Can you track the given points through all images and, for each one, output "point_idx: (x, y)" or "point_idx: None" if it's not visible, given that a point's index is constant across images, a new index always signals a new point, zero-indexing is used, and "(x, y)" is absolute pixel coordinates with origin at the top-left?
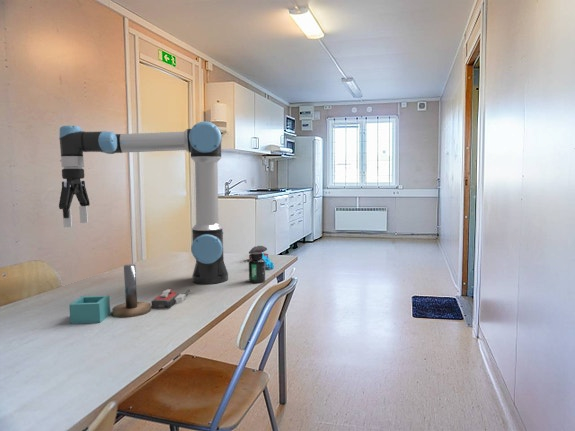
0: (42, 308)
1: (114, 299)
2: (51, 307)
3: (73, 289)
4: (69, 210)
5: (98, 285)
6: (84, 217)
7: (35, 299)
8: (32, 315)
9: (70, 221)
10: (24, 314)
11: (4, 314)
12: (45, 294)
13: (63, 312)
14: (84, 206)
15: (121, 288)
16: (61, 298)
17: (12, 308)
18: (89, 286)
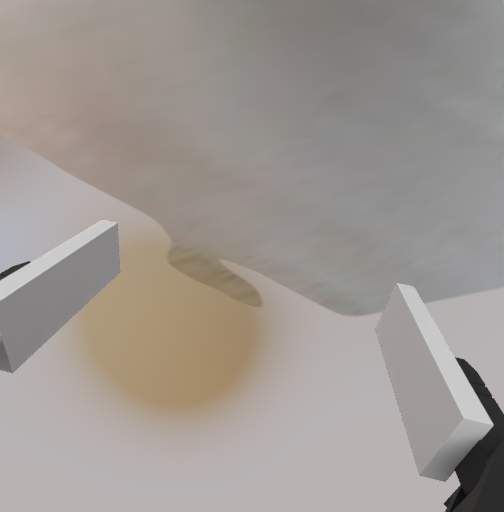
0: (407, 235)
1: (400, 20)
2: (408, 215)
3: (220, 201)
4: (480, 414)
5: (183, 132)
6: (92, 260)
7: (303, 272)
8: (469, 243)
9: (429, 318)
10: (447, 263)
11: None
12: (258, 260)
13: (486, 169)
14: (1, 321)
15: (241, 28)
16: (316, 211)
17: (372, 300)
18: (191, 160)
